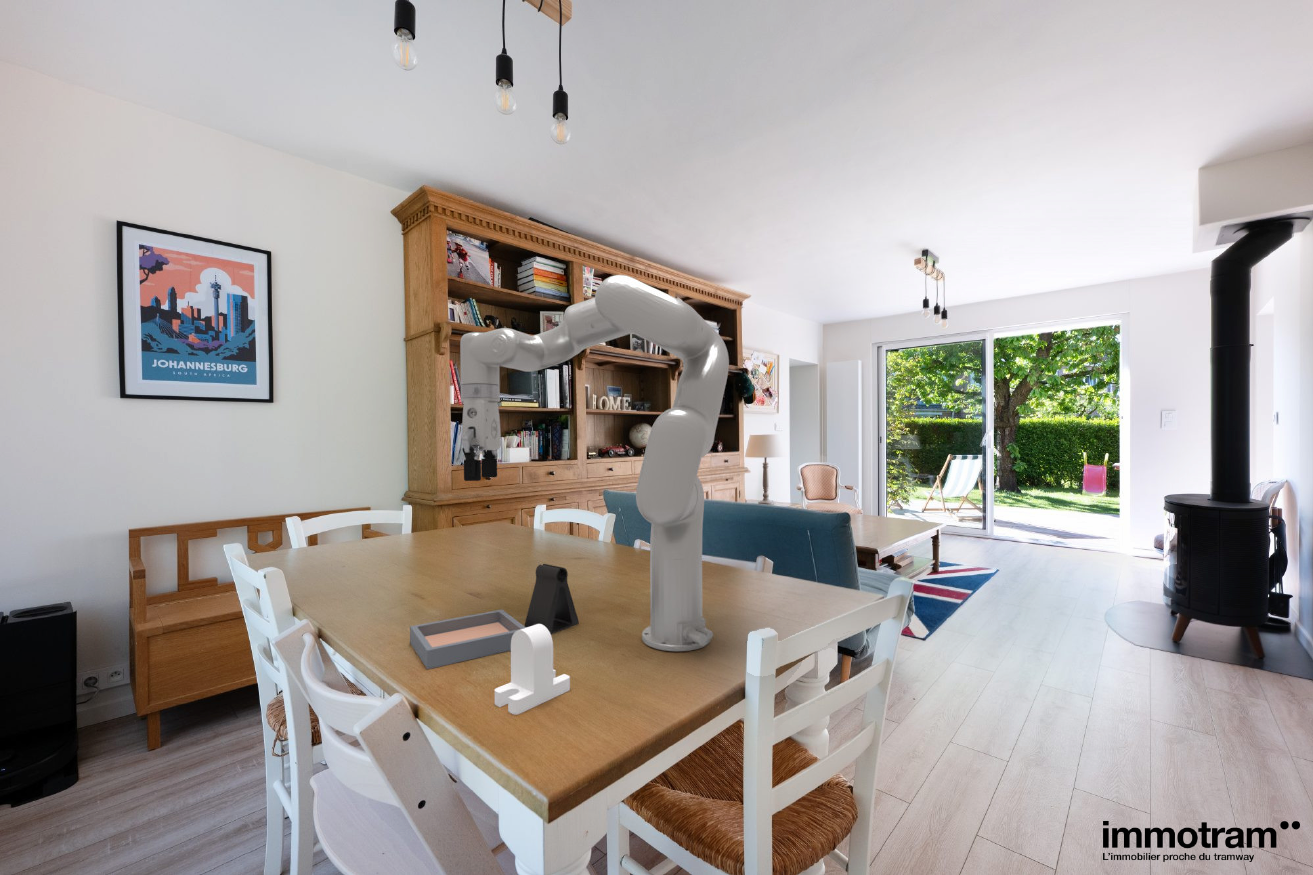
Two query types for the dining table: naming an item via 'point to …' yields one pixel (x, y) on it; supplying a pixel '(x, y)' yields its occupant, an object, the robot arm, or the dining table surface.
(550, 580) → the phone stand
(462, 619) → the grey tray
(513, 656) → the cable organizer
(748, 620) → the dining table surface
